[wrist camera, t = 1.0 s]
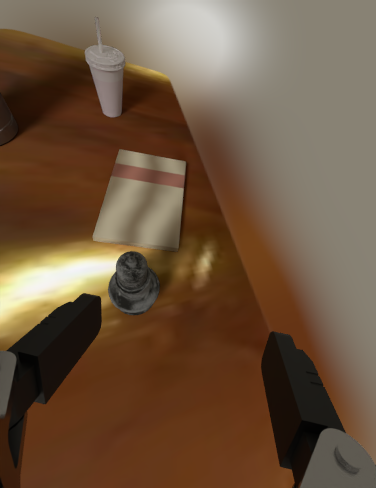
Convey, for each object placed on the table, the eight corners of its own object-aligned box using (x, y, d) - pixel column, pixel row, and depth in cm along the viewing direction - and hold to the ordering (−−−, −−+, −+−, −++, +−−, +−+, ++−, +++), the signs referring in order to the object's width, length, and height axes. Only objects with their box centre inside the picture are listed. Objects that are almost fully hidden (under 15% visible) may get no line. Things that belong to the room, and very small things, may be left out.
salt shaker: (156, 271, 30) (162, 226, 20) (160, 314, 28) (169, 289, 17) (112, 275, 29) (94, 229, 19) (112, 320, 27) (91, 296, 16)
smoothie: (98, 99, 45) (82, 5, 33) (129, 105, 47) (125, 15, 34) (93, 118, 43) (72, 22, 30) (126, 123, 44) (120, 32, 31)
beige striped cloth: (94, 240, 31) (92, 236, 30) (120, 154, 39) (119, 149, 38) (177, 251, 32) (178, 248, 31) (184, 166, 41) (186, 161, 40)
